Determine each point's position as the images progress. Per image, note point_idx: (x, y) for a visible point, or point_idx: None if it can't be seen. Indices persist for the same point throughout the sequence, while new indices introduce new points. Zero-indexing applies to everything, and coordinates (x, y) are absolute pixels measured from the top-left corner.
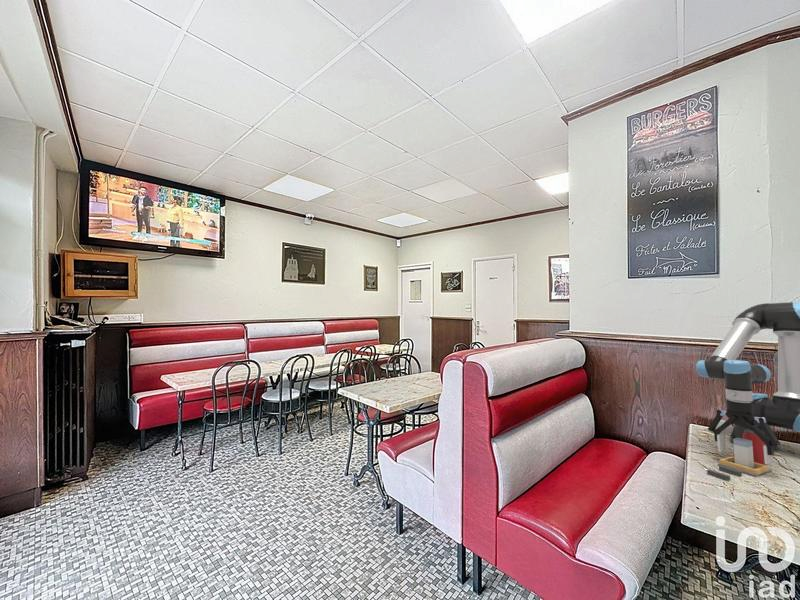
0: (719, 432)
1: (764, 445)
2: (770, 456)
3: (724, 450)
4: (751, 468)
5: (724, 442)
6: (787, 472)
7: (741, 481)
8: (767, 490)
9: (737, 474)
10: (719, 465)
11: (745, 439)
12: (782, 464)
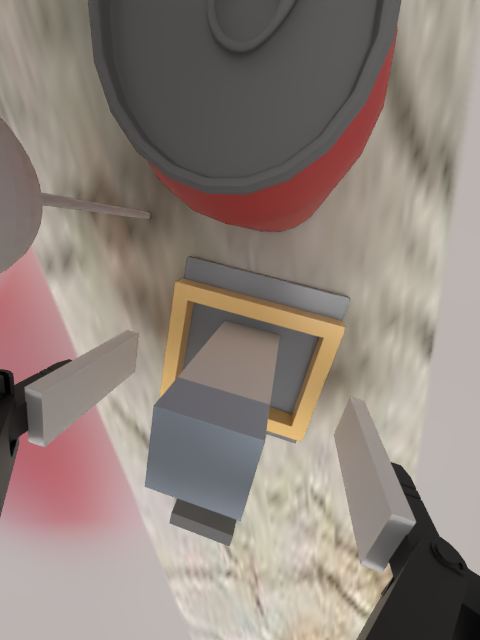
0: (11, 414)
1: (369, 556)
2: (376, 433)
3: (123, 215)
4: (278, 428)
5: (84, 209)
6: (419, 246)
7: (263, 509)
8: (334, 540)
9: None
10: None
11: (212, 433)
12: (410, 57)
